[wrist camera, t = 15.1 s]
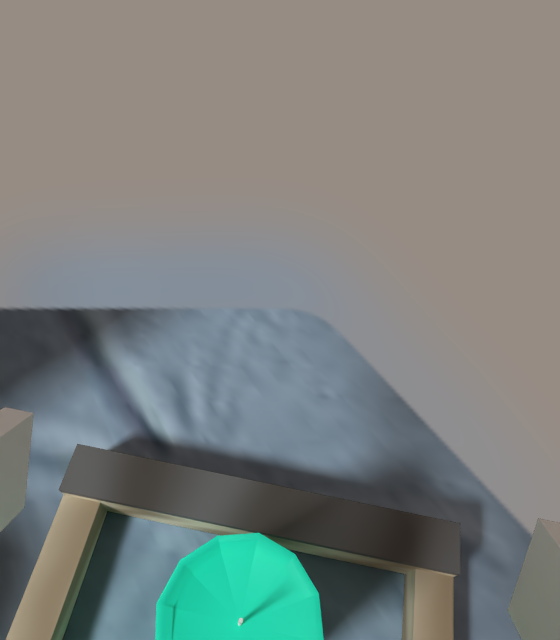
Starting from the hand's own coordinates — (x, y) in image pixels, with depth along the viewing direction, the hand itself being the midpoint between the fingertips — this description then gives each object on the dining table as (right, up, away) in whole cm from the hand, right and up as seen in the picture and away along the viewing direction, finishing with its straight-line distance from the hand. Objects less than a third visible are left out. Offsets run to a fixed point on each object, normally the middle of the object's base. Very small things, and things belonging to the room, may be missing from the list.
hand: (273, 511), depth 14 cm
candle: (-2, -11, +14) cm, 18 cm away
